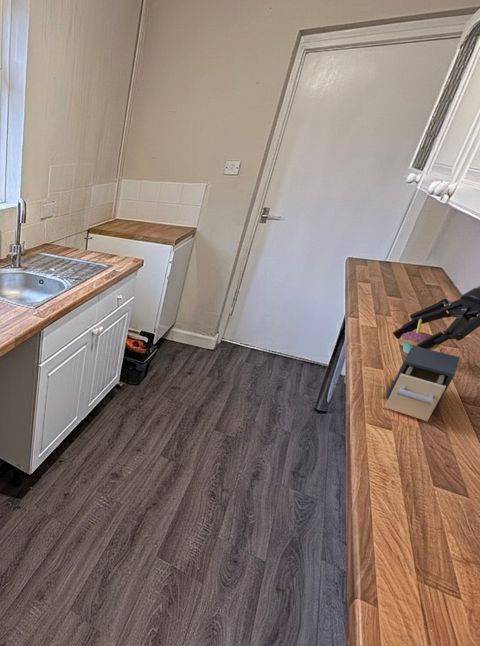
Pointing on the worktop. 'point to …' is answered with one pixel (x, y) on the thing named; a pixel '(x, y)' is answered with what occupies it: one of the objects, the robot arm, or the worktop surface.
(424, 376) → the drawer
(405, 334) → the cupcake
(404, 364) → the cabinet
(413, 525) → the worktop surface
